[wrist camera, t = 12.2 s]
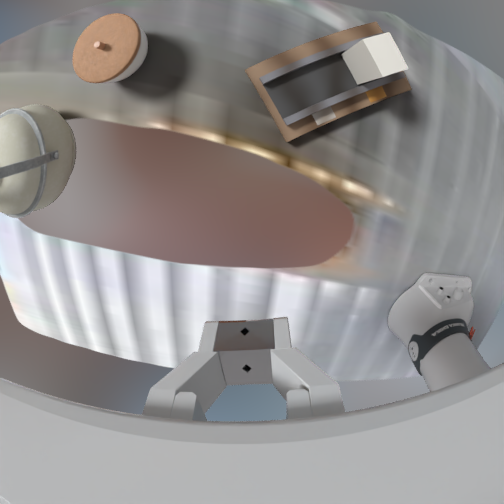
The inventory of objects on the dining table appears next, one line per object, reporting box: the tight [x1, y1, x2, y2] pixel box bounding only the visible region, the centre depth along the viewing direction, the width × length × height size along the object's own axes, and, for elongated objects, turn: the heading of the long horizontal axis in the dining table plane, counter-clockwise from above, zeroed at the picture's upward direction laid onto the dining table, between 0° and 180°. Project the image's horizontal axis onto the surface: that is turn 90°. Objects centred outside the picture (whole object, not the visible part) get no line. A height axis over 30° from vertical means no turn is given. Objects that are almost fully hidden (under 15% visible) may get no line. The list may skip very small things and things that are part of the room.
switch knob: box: [341, 32, 408, 85], centre depth 27 cm, size 4×5×9 cm
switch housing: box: [245, 22, 412, 142], centre depth 33 cm, size 22×12×4 cm, turn 119°
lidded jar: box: [73, 13, 148, 83], centre depth 28 cm, size 11×11×9 cm
